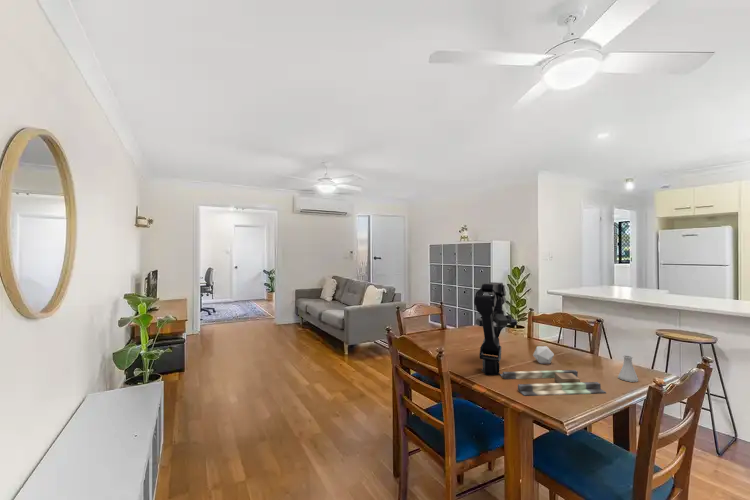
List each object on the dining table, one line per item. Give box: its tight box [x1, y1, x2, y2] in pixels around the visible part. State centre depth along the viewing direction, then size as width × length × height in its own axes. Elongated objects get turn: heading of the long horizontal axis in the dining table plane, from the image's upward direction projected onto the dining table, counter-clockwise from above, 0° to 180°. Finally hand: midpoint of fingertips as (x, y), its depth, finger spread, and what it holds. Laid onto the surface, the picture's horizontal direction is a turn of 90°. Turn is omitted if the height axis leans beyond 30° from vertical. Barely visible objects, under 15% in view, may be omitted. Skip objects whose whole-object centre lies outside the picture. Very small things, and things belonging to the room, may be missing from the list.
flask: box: [617, 354, 639, 383], centre depth 148 cm, size 7×7×10 cm
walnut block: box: [554, 373, 581, 383], centre depth 142 cm, size 7×7×4 cm
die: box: [532, 345, 555, 365], centre depth 170 cm, size 8×9×10 cm
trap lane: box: [499, 369, 607, 397], centre depth 143 cm, size 33×22×2 cm, turn 94°
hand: (496, 339), depth 169 cm, fingers closed
